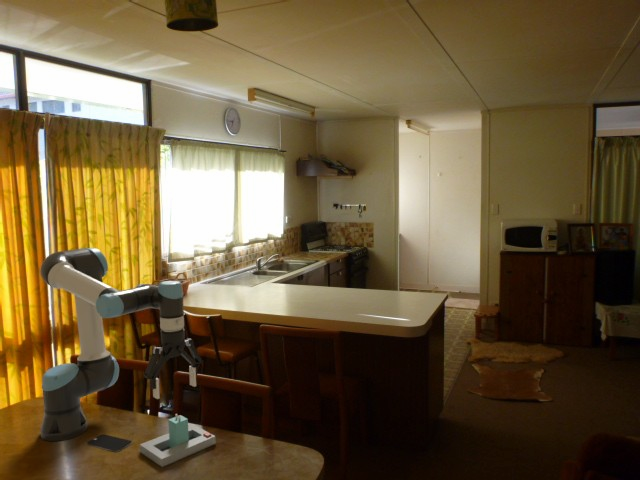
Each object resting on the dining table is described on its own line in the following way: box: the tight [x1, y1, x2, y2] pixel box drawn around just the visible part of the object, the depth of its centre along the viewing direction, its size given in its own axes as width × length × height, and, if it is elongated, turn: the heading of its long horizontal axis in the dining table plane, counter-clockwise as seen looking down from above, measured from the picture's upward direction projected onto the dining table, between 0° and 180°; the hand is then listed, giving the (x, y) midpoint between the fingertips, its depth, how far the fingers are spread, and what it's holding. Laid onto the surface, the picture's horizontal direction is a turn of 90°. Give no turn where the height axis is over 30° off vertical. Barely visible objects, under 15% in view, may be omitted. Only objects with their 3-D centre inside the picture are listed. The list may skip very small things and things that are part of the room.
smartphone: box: [85, 434, 133, 453], centre depth 181 cm, size 8×1×15 cm
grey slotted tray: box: [139, 423, 217, 468], centre depth 176 cm, size 14×20×3 cm
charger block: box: [168, 413, 189, 448], centre depth 175 cm, size 4×4×11 cm
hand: (175, 391), depth 174 cm, fingers open, 13 cm apart
